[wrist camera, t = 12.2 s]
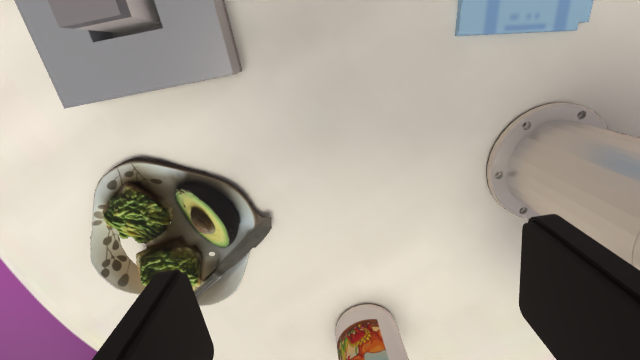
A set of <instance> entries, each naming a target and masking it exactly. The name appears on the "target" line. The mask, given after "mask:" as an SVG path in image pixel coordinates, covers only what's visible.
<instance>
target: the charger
mask: <svg viewBox="0 0 640 360" xmlns="http://www.w3.org/2000/svg"><path fill="white" fill-rule="evenodd" d="M48 3H49V5H50V7H51V9H52V12H53V14H54V16H55V19H56V21H57V23H58V26H59V28H70V29H82V30H93V31H105V32H117V33H123V32H128V31H133V30H138V29H142V28H147V27H152V26H157V25H162V23H161V20H160V17H159V14H158V11H157V8H156V5H155V2H154V0H48Z"/></svg>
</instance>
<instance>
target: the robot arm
mask: <svg viewBox="0 0 640 360" xmlns="http://www.w3.org/2000/svg"><path fill="white" fill-rule="evenodd" d="M487 179H488V185H489V188H490V191H491V193H492V195H493V197H494V198H495V199H496V201H497V202H498V203H499V204H500V205H501V206H503V207H504V208H505V209H506V210H508V211H509V212H511V213H512V214H515V215H517V216H520V217H525V218H530V219H529V221H528V223H525V224H524V225H523V229H522V250H521V271H520V292H519V307H520V310H521V313H522V315H523V317H524V318H525V320H526V321H527V322H528V323H529V325H530V326H531V327H532V329H533V330H534V331H535V332H536V334H537V335H538V336H539V338H540V339H541V340H542V341H543V343H544V344H545V345H546V347H547V348H548V349H549V350H550V352H551V353H552V354H553V356H554V357H555V358H556V359H557V360H640V137H637V138H636V137H632V136H628V135H625V134H621V133H617V132H613V131H609V130H608V129H607V127H606V125H605V123H604V121H603V120H602V119H601V118H600V117H599V116H598V115H597V114H596V113H595V112H593V111H592V110H590V109H589V108H586V107H583V106H580V105H576V104H571V103H551V104H546V105H542V106H540V107H537V108H534V109H532V110H530V111H528V112H526V113H525V114H523V115H521V116H520V117H519V118H517V119H516V120H515V121H514V122H512V123H511V124H510V125H509V126H508V127H507V128H506V130H505V131H504V132H503V133H502V134H501V136H500V137H499V139H498V140H497V142H496V143H495V145H494V147H493V150H492V152H491V154H490V158H489V162H488V166H487ZM213 355H214V347H213V343H212V340H211V337H210V335H209V332H208V329H207V326H206V324H205V321H204V318H203V315H202V313H201V310H200V307H199V304H198V302H197V299H196V296H195V293H194V291H193V288H192V285H191V282H190V280H189V277H188V275H187V274H185V273H184V274H182V272H181V271H180V270H178V269H176V270H169V271H162V272H158V273H156V274H155V275H154V276H153V278H152V279H151V280H150V282H149V283H148V284H147V286H146V287H145V288H144V290H143V291H142V293H141V294H140V295H139V297H138V298H137V299H136V301H135V302H134V303H133V305H132V306H131V307H130V309H129V310H128V312H127V313H126V314H125V316H124V317H123V318H122V320H121V321H120V322H119V324H118V325H117V327H116V328H115V329H114V331H113V332H112V333H111V335H110V336H109V337H108V339H107V340H106V341H105V343H104V344H103V346H102V347H101V348H100V350H99V351H98V352H97V354H96V355H95V356H94V358H93V359H92V360H213Z"/></svg>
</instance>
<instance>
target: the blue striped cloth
mask: <svg viewBox="0 0 640 360" xmlns="http://www.w3.org/2000/svg"><path fill="white" fill-rule="evenodd" d="M592 4H593V0H458V11H457V21H456V32H455V36H466V35H488V34H509V33H530V32H552V31H573V30H577V28H578V23H579V22H589V17H590V13H591V8H592Z"/></svg>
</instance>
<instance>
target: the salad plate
mask: <svg viewBox="0 0 640 360" xmlns="http://www.w3.org/2000/svg"><path fill="white" fill-rule="evenodd" d="M170 221H171V223H170ZM271 228H272V226H271V218H269V217H265V218H263V217H261V216H260V215H259V214H257V212H256V211H255V210H254V208H253V207H252V205H251V203H250V202H249V201H248V199H247V198H246V197H245V196H244V194H243V193H242V192H240V191H239V190H238V189H237V188H235V187H234V186H232V185H231V184H229V183H227V182H225V181H223V180H221V179H218V178H216V177H213V176H211V175H208V174H206V173H204V172H200V171H196V170H192V169H189V168H185V167H182V166H179V165H175V164H171V163H167V162H163V161H159V160H151V159H143V158H134V159H131V160H128V161H125V162H123V163H121V164H119V165H118V166H116V167H114V168H113V169H111V170H110V171H109V172H108V173H107V174H105V175H104V176H103V177H102V178H101V179H100V181H99V182H98V185H97V187H96V190H95V194H94V204H93V221H92V233H91V237H90V239H91V261H92V264H93V266H94V268H95V269H96V271H97V272H98V273H99V275H100V276H101V277H102V278H103V279H105V280H106V281H107V282H108V283H109V284H110V285H112V286H113V287H115V288H117V289H119V290H122V291H125V292H129V293H133V294H139V295H140V294H141V293H142V291H143V290H144V288H145V287H146V286H147V284H148V283H149V282H150V280H151V279H152V278H153V276H154V275H155V274H156V273H158V272H162V271H169V270H176V269H178V270H180V271H181V272H182V274H184V273H185V274H187V275H188V277H189V280H190V282H191V285H192V288H193V291H194V293H195V296H196V299H197V302H198V304H199V306H205V305H212V304H215V303H218V302H220V301H222V300H225V299H226V298H228V297H230V296H231V295H232V294H234V293H235V292H236V290H237V288H238V286H239V284H240V282H241V280H242V277H243V274H244V270H245V266H246V263H247V260H248V255H249V251H250V250H251V249H252V248H255V247H257V245H258V244H259V243H260V242H261V241H262V240H263V239H264V238H265V237H266V235H267V234H268V233H269V231H270V230H271ZM118 232H119V235H118ZM119 236H120V237H121V238H122V239H127V238H128V237H133V238H134V239H135V241H137V242H138V243H145V244H146V245H147V249H145V250H143V251H141V252H139V253H137V254H136V259H137V261H136V264H137V265H135V264H134V263H133V262H132V261H131V260H130V259H129V257H128V256H127V255H126V253H125V251H124V249H123V248H122V246H121V243H120V238H119ZM209 252H214V253H215V256H209V255H208V254H209Z"/></svg>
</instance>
